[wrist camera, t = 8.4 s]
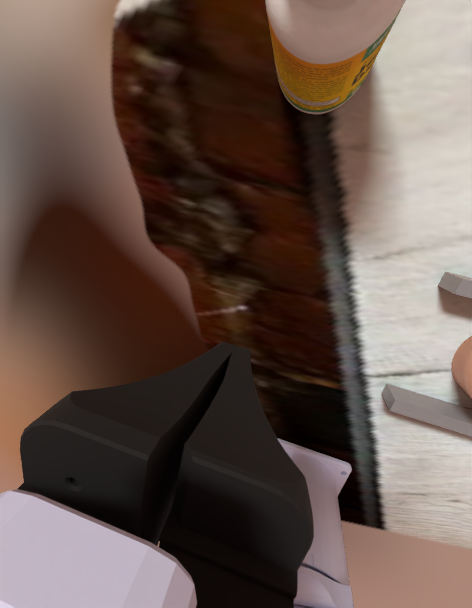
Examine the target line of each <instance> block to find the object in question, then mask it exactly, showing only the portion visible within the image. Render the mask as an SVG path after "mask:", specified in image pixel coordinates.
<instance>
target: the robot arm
mask: <svg viewBox="0 0 472 608" xmlns="http://www.w3.org/2000/svg"><path fill="white" fill-rule="evenodd" d="M20 453H21V460H22V469H23V478H24V483H23V484H22V485H21V486H20V487H19V488H18V489H16V490H10V491H7V492H4V493H2V494H0V608H354V604H353V597H352V591H351V587H350V584H349V576H348V569H347V562H346V555H345V548H344V540H343V533H342V526H341V519H340V511H339V504H338V497H337V496H338V495H339V493H340V491H341V489H342V487H343V485H344V484H345V482H346V480H347V478H348V476H349V474H350V473H351V470H352V469H351V465H350V464H349V463H347V462H344V461H341V460H339V459H336V458H333V457H330V456H327V455H324V454H321V453H318V452H316V451H313V450H310V449H307V448H304V447H301V446H298V445H296V444H293V443H290V442H287V441H284V440H281V439H278V438H277V437H276V435H275V433H274V431H273V430H272V428H271V426H270V424H269V422H268V420H267V418H266V416H265V414H264V411H263V409H262V406H261V404H260V401H259V398H258V395H257V392H256V389H255V385H254V381H253V376H252V370H251V352H250V350H248V349H245V348H242V347H238V346H235V345H232V344H229V343H225V342H221V343H220V344H218V345H217V346H215V347H214V348H212V349H211V350H209V351H208V352H206V353H205V354H203V355H201V356H200V357H198V358H196V359H194V360H193V361H191V362H189V363H187V364H185V365H183V366H181V367H179V368H177V369H174V370H172V371H169V372H167V373H164V374H162V375H159V376H155V377H152V378H148V379H145V380H141V381H138V382H134V383H129V384H125V385H120V386H114V387H108V388H101V389H92V390H83V391H73V392H71V393H70V394H68V395H67V396H66V397H64V398H63V399H61V400H60V401H59V402H57V403H56V404H55V405H54V406H52V407H51V408H50V409H49V410H47V411H46V412H45V413H44V414H43V415H41V416H40V417H39V418H38V419H37V420H35V421H34V422H33V423H31V424H30V425H29V426H28V427H27V428H25V429H24V432H23V434H22V436H21V442H20ZM343 471H345V472H343ZM159 541H160V544H159V547H158V546H157V545H158V542H159Z"/></svg>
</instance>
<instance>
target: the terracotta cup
mask: <svg viewBox="0 0 472 608" xmlns="http://www.w3.org/2000/svg"><path fill="white" fill-rule="evenodd" d="M452 374H453V377H454V379H455V381H456V382H457V383H458V385H459V386H460V387H461V388H462V389H463V390H464V391H465V392H466V393H467V394H468V395H469V396H470V398H471V399H472V336H471V337H469V338H468V339H467V340H466V341H464V342H463V343H462V344H461V345H460V347H459V348H458V349H457V351H456V353H455V355H454V357H453V360H452Z"/></svg>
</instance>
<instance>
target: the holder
mask: <svg viewBox="0 0 472 608" xmlns="http://www.w3.org/2000/svg"><path fill="white" fill-rule="evenodd" d="M438 286H440V287H442V288H443V289H445V290H447V291H449V292H451V293H453V294H456V295H460V296H464V297H468V298H472V278H469V277H465V276H461V275H457V274H452V273H448V272H445V274H444V276H443V277H442V279H441V281H440V283H439V285H438ZM382 396H383V398H384V400H385V402H386V404H387V407H388V409H389V411H392V412H395V413H398V414H401V415H405V416H408V417H411V418H414V419H417V420H420V421H423V422H427V423H430V424H433V425H436V426H439V427H442V428H446V429H449V430H452V431H455V432H458V433H461V434H464V435H468V436H471V437H472V410H471V409H468V408H464V407H461V406H458V405H455V404H451V403H448V402H445V401H441V400H438V399H435V398H432V397H428V396H425V395H422V394H418V393H415V392H412V391H409V390H405V389H402V388H399V387H395V386H392V385H389V384H386V386H385V388H384V390H383V392H382Z"/></svg>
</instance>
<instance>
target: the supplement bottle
mask: <svg viewBox="0 0 472 608" xmlns="http://www.w3.org/2000/svg"><path fill="white" fill-rule="evenodd" d="M265 1H266V9H267V15H268V21H269V27H270V33H271V39H272V45H273V51H274V57H275V65H276V70H277V76H278V81H279V84H280V87H281V89H282V92H283V94H284V95H285V97H286V98H287V100H288V101H289V102H290V103H291V104H292V105H293V106H294V107H295V108H297V109H298V110H300V111H302V112H305V113H308V114H324V113H327V112H330V111H332V110H334V109H336V108H338V107H340V106H341V105H343V104H344V103H346V102H347V101H348V100H349V99H350V98H351V97H352V96H353V95H354V94H355V93H356V92H357V91H358V90H359V88H360V87H361V85H362V84H363V82H364V80H365V78H366V76H367V75H368V73H369V71H370V69H371V67H372V65H373V63H374V61H375V59H376V57H377V55H378V53H379V51H380V49H381V47H382V45H383V43H384V41H385V39H386V37H387V35H388V34H389V32H390V30H391V28H392V26H393V24H394V22H395V20H396V18H397V16H398V14H399V12H400V10H401V8H402V6H403V4H404V2H405V0H265Z"/></svg>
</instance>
